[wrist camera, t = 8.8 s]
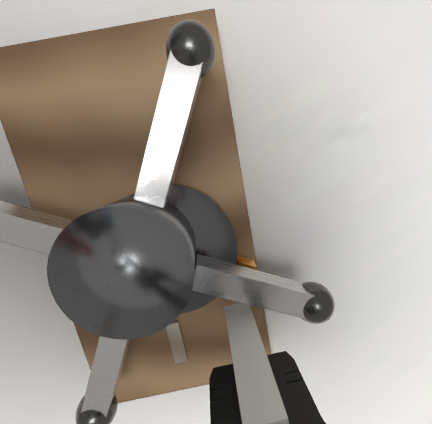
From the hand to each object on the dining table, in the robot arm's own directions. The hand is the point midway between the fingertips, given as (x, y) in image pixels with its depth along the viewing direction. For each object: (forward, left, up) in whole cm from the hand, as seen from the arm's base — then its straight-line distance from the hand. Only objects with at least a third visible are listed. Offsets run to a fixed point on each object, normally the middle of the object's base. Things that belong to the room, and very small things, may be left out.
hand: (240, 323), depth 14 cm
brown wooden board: (-6, -5, -4) cm, 8 cm away
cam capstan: (-6, -5, -2) cm, 8 cm away
